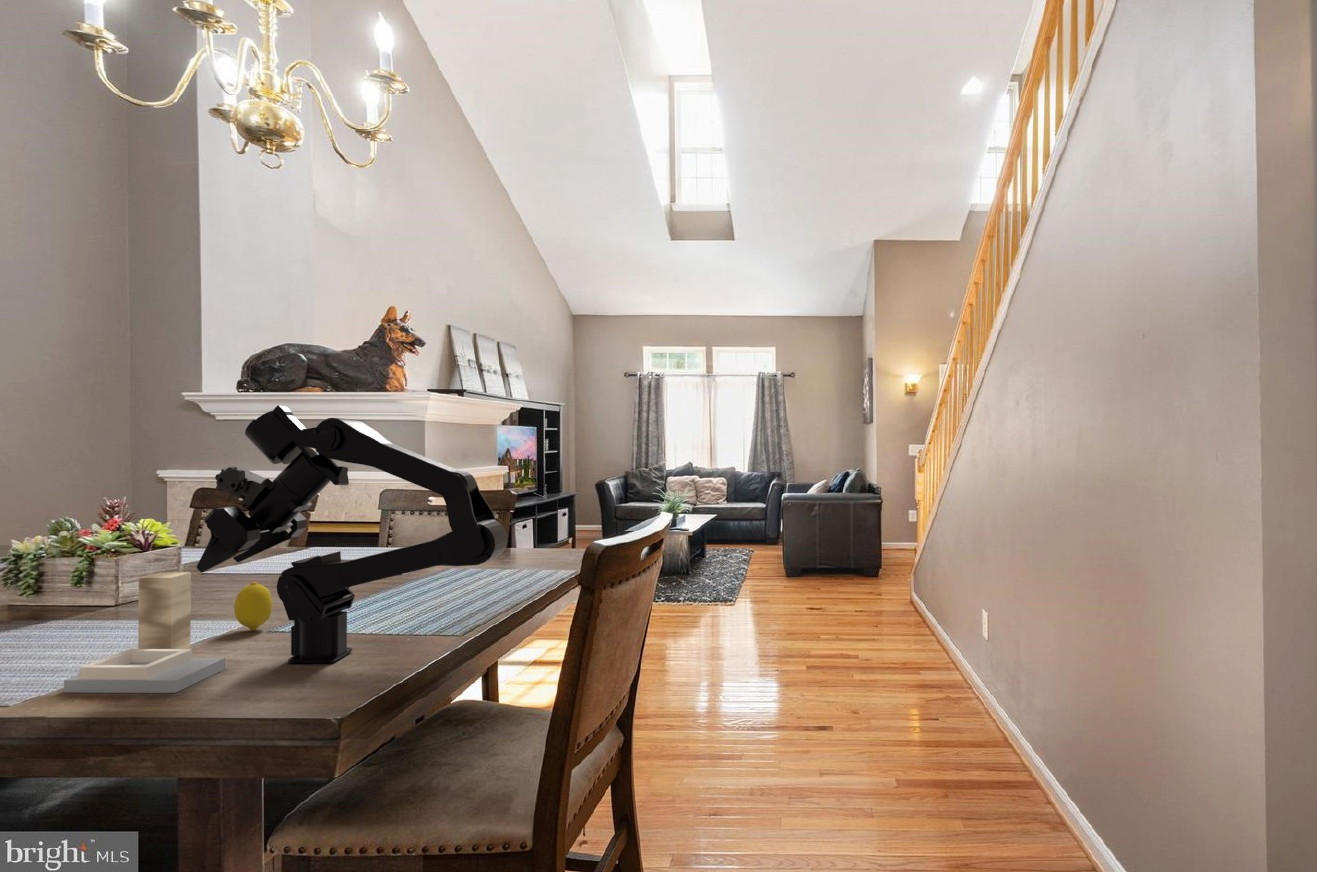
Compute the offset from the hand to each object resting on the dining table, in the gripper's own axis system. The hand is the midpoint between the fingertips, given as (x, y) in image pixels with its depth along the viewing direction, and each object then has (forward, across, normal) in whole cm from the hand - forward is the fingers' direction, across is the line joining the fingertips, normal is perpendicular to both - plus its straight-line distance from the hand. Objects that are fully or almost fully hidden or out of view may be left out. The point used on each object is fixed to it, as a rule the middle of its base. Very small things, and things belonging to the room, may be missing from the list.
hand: (218, 564), depth 107 cm
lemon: (+12, -17, +7) cm, 22 cm away
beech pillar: (+15, 0, +4) cm, 15 cm away
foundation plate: (+12, +10, +7) cm, 17 cm away
